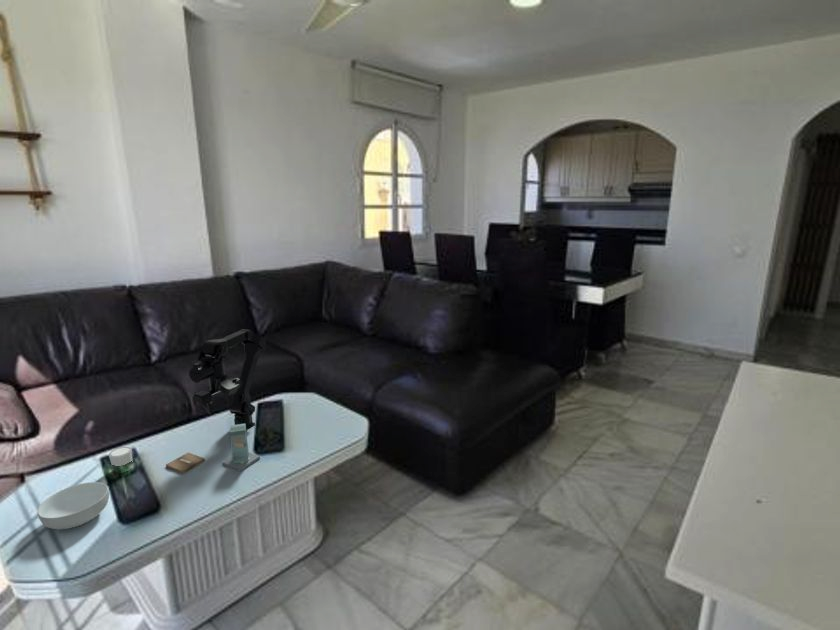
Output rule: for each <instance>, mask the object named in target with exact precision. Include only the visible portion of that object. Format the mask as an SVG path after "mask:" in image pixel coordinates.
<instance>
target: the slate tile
mask: <svg viewBox="0 0 840 630" xmlns="http://www.w3.org/2000/svg"><path fill="white" fill-rule="evenodd" d="M258 459H259V460H261V456H260V455H257V454H254V453H251V452H249V458H248V461H247V462H241V463H235V464H233V456H232V455H231V457H228V459H226V460H224V461H222V465H223V466H225V467H227V468H230V469H233V470H236V471H238V470H239V472H242V471H243V470H245V469H246V467H247V468H248V467H249V465H250V466H251V465H253V464H254V463H255V461H256V462H257V461H259V460H258ZM252 463H253V464H252Z"/></svg>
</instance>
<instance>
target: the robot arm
mask: <svg viewBox="0 0 840 630" xmlns="http://www.w3.org/2000/svg"><path fill="white" fill-rule="evenodd" d="M239 344H242V345H243V347H244V348H243V351H244V354H245V358H244V362H243V365H242V367H241V368H242V369H241V372H240V376H239V378H238V377H236V378H235V377H230V378H229V376H228V374H226V373H225V365H224V360H225V359H227V358H228V356H226V355H225V354H227V353H228V351H229V349H231V348H233V347H235V346H237V345H239ZM266 347H267V341H266V339H265V338H264V337H262V336H260V335H259V334H256V333H255V332H253V331H252V330H251V329H244V328H241V329H239V330H238V331H236V332H233V333H232V334H229V335H226V336H224V337H221V338H217V339H210V340H209V339H208V340H205V341H204V342H203V344H202V346H201V348H200V350H199V354H198V357H197V359H196V361H197V362H196V363H193V364H192V367H191V368H190V370H189V372H188V376H189V378H190V380H191V381H192V382H193V383H195V384H197V383H198V384H199V383H201V382H203V381H205V380H208V383H209V385H207V387H206V388H207V389H208V391H205V390H199V391H198V392H196V393H193V394H192V401H193V402H195V403H199V404H201V405H202V406H203V408H204V410H206V412H207V414H208V415H209V416H213V407H212V406H213V405H212V403H213V401H214V400H213V396H214V395H216V394H218V393H222V394H224V396H226V401H227V402H226V403H227V409H228V411H229V413H230V414H231V415H232V414H234V420H233V422H234V425H238V424H246V430H248V429H249V428H250V429H251V428H252V427H253V426H255V425H256V422H253V415H254V412H256V406H255V405H253V403H251V401H252V398H251V395H250V388H251V386H252V381H253V378H254V374H255V371H256V367H257V364H258V360H259V358H260V357H261V356H262V355H263V354H264V353H265V350H266ZM254 424H255V425H254Z"/></svg>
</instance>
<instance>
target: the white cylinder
mask: <svg viewBox="0 0 840 630" xmlns="http://www.w3.org/2000/svg"><path fill="white" fill-rule="evenodd" d="M132 450H133V448H132V447H130V446H122V447H121V446H120V447H118V448H115V449H113V450H111V451H110V452H109V453H108V456H109V461H110V463H111V466H112V465H115V466H121V465H125V464H127V463H129V462H131V461H132V462H133V451H132Z"/></svg>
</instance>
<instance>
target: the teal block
mask: <svg viewBox="0 0 840 630" xmlns="http://www.w3.org/2000/svg"><path fill="white" fill-rule="evenodd" d="M247 433H248V432H247V429H246V424H238V425H235V424H233V425H230V429H229V436H230V445H231V446H230V447H231V454H232V455H231V457H232V456H233V464H235V463H241V462H247V461H248V458H249V453H250V452H249V444H248V434H247Z"/></svg>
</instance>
